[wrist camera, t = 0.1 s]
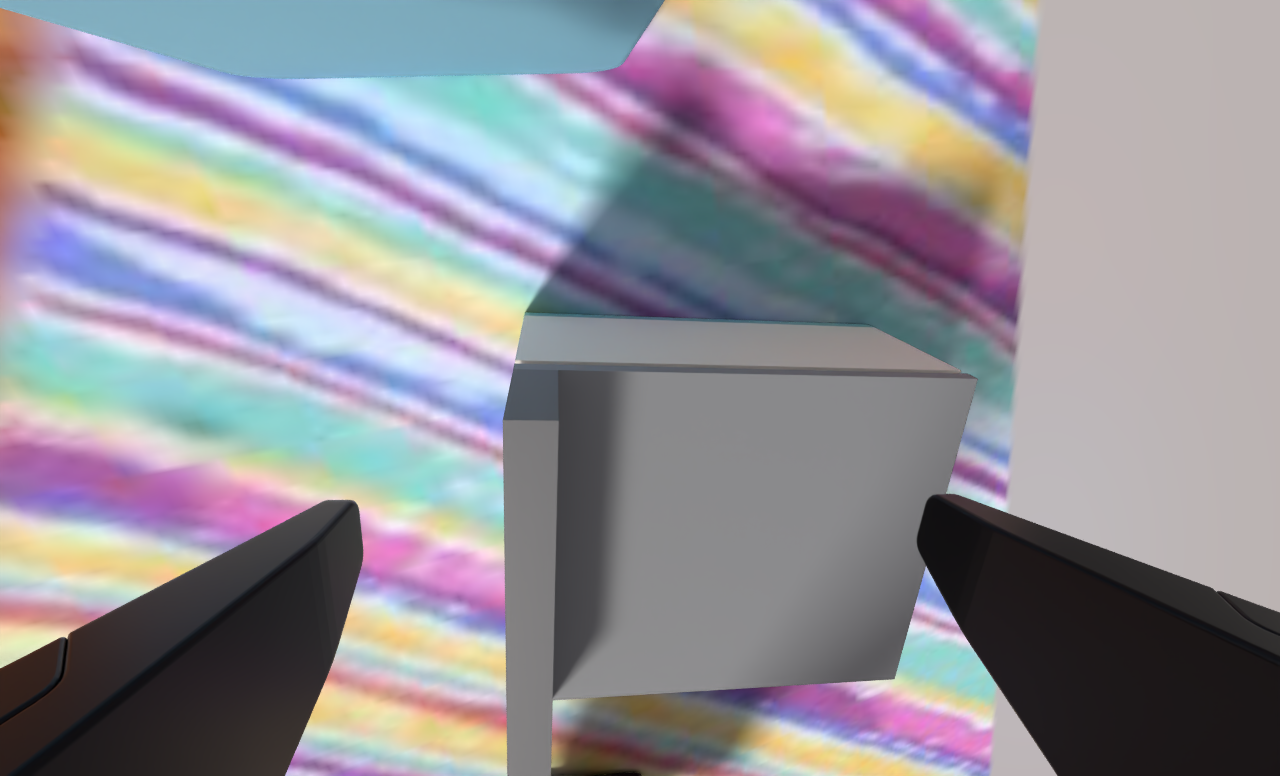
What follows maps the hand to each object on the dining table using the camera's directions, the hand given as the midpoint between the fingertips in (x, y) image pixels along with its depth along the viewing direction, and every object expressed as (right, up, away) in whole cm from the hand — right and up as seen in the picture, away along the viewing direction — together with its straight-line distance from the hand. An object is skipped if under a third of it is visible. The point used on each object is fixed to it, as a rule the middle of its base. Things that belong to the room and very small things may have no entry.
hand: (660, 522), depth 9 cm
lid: (+3, -3, +10) cm, 11 cm away
